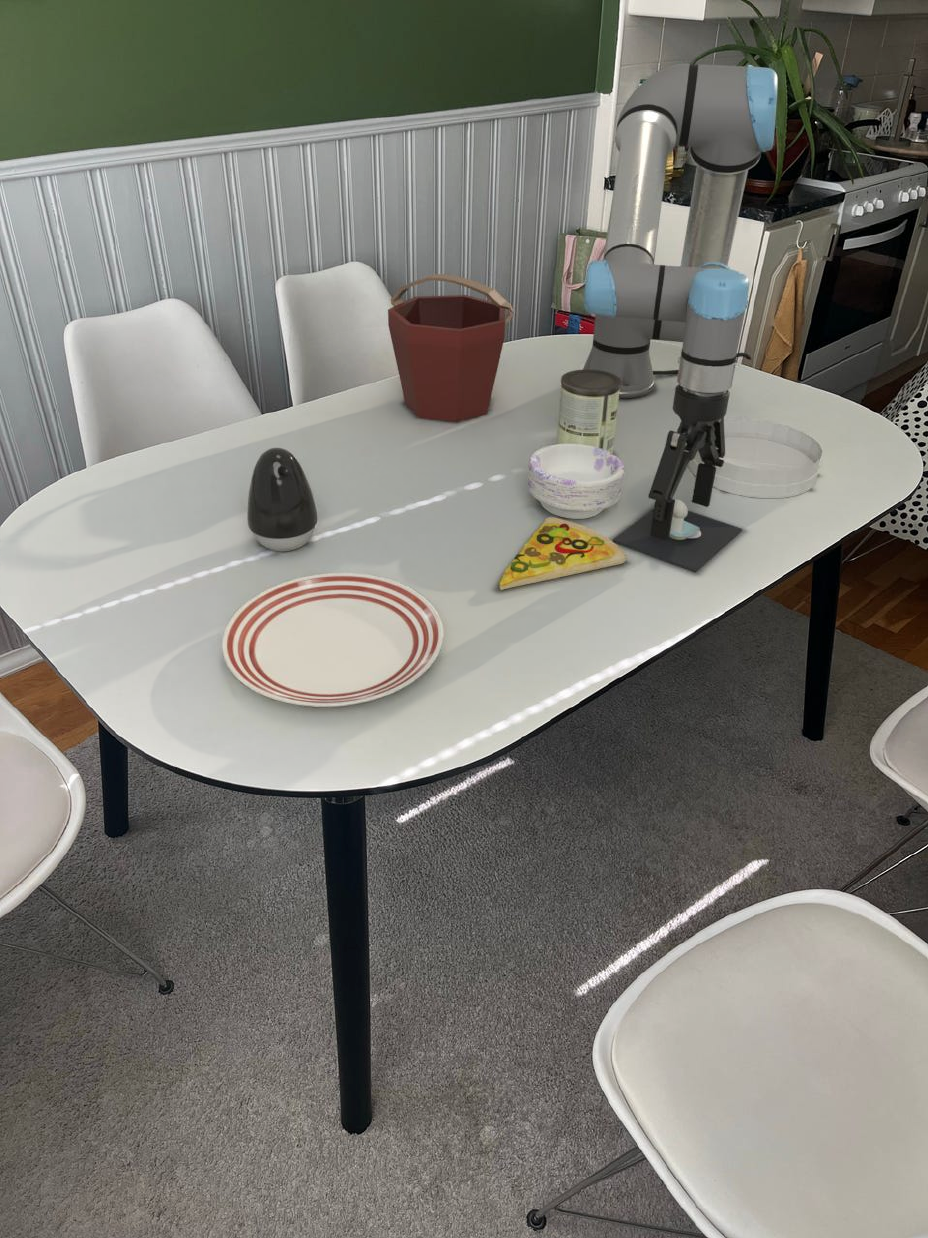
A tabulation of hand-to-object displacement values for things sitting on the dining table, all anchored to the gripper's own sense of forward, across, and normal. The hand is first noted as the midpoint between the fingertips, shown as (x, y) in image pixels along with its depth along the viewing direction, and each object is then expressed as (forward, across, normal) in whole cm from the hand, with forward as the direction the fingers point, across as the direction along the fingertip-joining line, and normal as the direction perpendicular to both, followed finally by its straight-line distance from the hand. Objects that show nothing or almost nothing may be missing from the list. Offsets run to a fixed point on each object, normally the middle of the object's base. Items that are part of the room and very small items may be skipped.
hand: (680, 520), depth 145 cm
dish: (+3, -30, -1) cm, 30 cm away
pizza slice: (+3, +20, -11) cm, 23 cm away
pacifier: (+2, 0, 0) cm, 3 cm away
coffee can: (+3, -16, -27) cm, 31 cm away
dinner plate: (+3, +55, -20) cm, 59 cm away
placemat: (+3, 0, 0) cm, 3 cm away
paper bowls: (+3, +2, -18) cm, 18 cm away
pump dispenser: (+3, +40, -45) cm, 60 cm away
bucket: (+3, -18, -60) cm, 63 cm away
